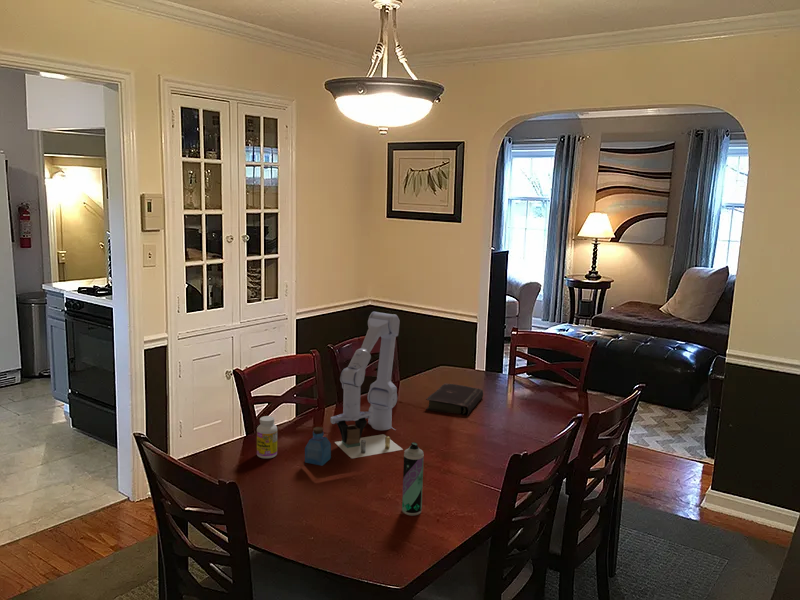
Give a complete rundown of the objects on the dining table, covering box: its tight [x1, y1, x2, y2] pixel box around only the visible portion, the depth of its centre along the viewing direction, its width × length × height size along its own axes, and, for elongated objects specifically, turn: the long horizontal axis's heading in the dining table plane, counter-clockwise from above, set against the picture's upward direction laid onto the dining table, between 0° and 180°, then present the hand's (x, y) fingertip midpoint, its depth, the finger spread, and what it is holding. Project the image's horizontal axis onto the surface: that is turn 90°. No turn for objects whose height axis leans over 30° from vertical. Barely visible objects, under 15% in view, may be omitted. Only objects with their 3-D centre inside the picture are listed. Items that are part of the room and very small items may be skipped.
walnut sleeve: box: [341, 424, 361, 448], centre depth 232 cm, size 5×5×6 cm
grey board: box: [334, 433, 404, 459], centre depth 232 cm, size 15×19×1 cm
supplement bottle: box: [256, 415, 278, 459], centre depth 223 cm, size 7×7×13 cm
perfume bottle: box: [304, 426, 332, 466], centre depth 218 cm, size 6×6×12 cm
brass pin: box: [385, 435, 391, 449], centre depth 230 cm, size 2×2×4 cm
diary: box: [425, 383, 484, 417], centre depth 281 cm, size 19×25×5 cm
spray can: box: [401, 442, 425, 516], centre depth 188 cm, size 6×6×20 cm
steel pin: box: [361, 440, 366, 453], centre depth 226 cm, size 2×2×4 cm
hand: (351, 440), depth 232 cm, fingers closed on walnut sleeve, 4 cm apart
